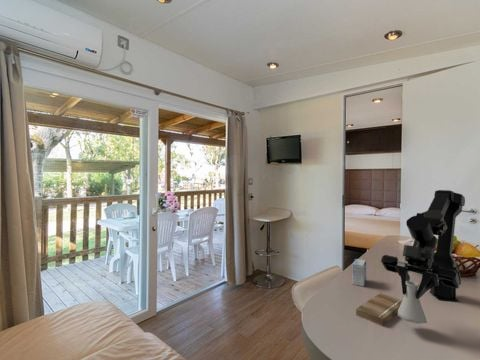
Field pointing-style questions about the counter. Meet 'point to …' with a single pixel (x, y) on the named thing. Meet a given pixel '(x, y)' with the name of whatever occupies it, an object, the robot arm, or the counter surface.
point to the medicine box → (359, 272)
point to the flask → (411, 305)
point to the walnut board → (379, 309)
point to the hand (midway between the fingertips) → (410, 296)
